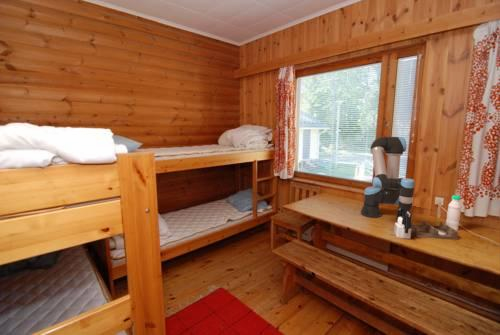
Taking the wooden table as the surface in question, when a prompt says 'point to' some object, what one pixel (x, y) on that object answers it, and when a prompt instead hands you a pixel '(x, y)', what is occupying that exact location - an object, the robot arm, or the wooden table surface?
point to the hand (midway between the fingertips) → (401, 234)
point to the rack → (433, 231)
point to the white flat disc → (441, 232)
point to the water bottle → (454, 212)
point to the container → (400, 228)
